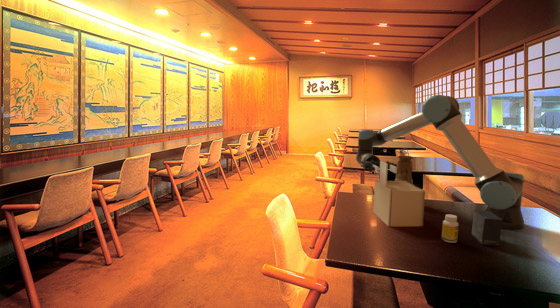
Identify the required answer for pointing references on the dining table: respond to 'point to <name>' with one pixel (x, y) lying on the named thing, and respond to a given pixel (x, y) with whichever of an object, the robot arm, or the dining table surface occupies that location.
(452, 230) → the supplement bottle
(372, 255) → the dining table surface
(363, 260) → the dining table surface
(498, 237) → the small box
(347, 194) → the dining table surface
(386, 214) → the front flap
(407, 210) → the carton
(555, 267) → the dining table surface
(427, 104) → the robot arm
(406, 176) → the lantern
